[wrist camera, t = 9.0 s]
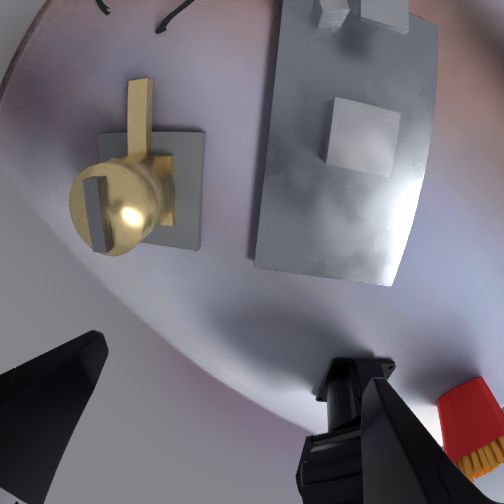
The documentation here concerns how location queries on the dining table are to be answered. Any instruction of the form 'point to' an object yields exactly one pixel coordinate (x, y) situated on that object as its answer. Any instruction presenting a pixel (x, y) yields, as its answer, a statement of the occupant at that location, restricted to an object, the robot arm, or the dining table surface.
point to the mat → (185, 175)
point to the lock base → (334, 194)
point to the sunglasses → (164, 22)
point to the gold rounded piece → (126, 186)
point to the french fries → (472, 428)
